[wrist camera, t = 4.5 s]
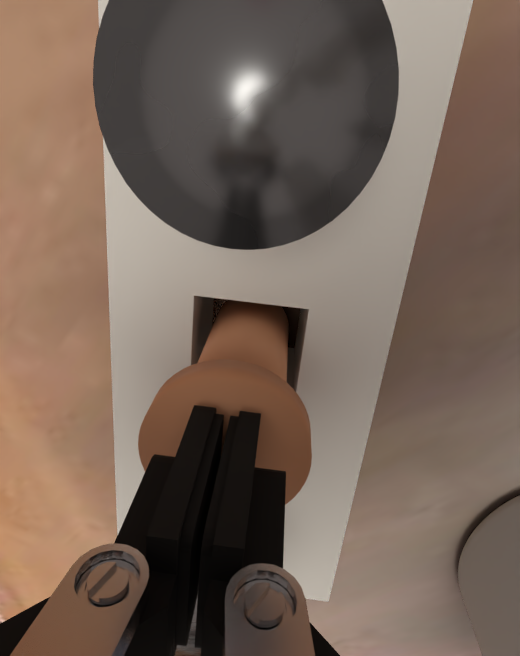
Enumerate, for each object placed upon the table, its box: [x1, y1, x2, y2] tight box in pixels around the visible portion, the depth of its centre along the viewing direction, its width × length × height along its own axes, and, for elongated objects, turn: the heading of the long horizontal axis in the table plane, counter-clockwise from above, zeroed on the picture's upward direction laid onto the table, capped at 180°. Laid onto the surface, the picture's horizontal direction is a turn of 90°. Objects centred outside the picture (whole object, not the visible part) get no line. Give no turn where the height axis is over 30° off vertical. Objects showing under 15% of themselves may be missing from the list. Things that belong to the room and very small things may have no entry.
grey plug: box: [93, 0, 399, 250], centre depth 10 cm, size 4×4×8 cm
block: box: [98, 0, 473, 602], centre depth 19 cm, size 10×25×5 cm, turn 174°
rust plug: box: [138, 300, 312, 505], centre depth 15 cm, size 4×4×8 cm
